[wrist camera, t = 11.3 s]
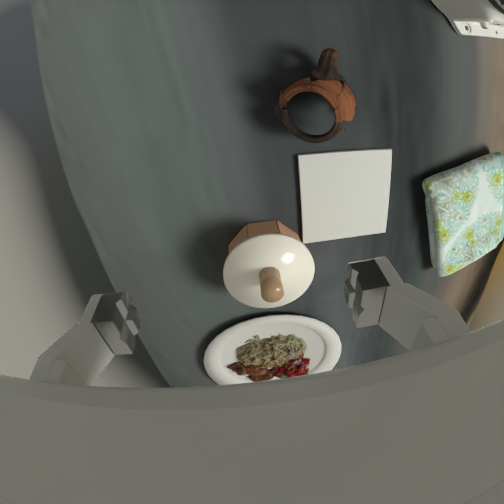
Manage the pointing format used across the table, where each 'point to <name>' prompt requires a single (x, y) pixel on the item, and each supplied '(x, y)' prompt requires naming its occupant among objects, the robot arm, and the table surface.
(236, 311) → the table surface
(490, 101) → the table surface
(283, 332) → the plated food
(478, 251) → the towel
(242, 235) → the bowl
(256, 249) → the lid
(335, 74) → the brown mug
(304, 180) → the mat
